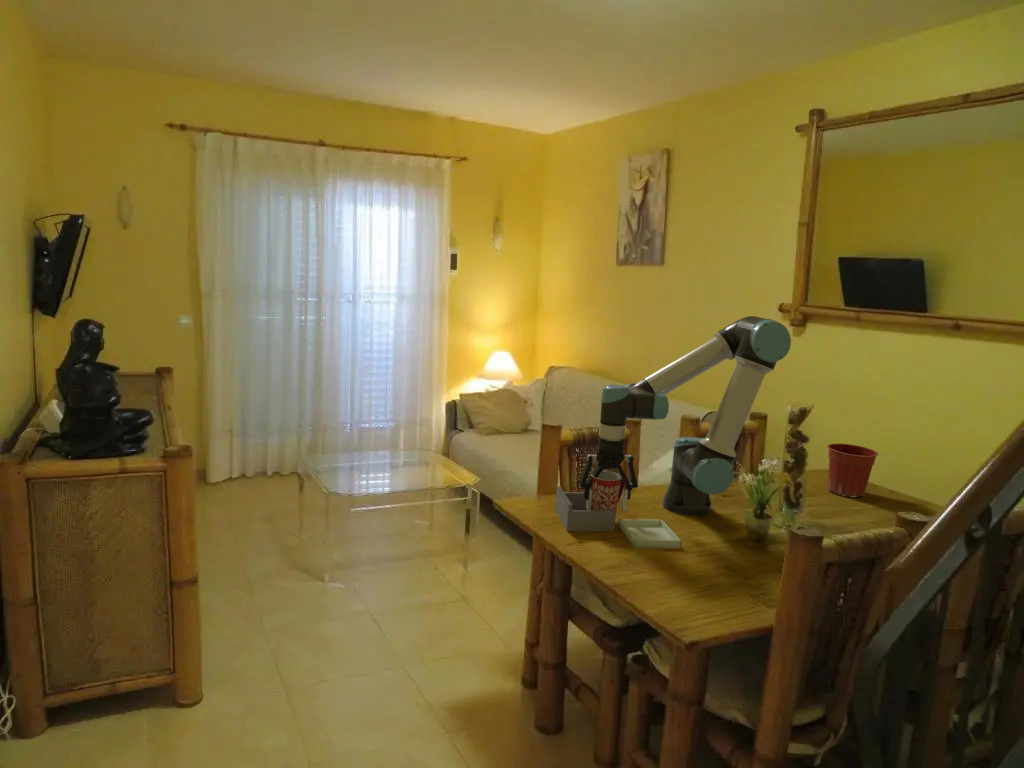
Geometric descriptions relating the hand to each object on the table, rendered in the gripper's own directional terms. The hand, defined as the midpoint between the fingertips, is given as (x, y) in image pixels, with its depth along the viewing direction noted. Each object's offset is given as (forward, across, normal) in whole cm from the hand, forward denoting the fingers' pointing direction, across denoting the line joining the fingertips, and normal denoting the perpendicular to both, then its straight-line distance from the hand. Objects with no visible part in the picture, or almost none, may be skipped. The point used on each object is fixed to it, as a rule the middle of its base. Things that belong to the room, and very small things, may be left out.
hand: (606, 509), depth 218 cm
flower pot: (+5, -97, -29) cm, 102 cm away
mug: (+3, 0, 0) cm, 3 cm away
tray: (+4, -9, +12) cm, 16 cm away
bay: (+3, +7, 0) cm, 7 cm away
